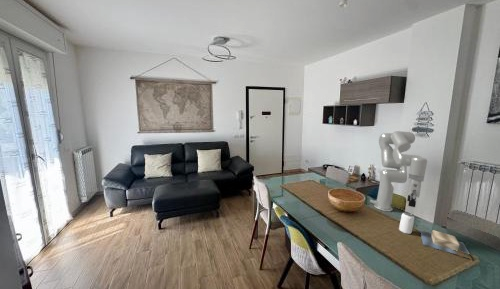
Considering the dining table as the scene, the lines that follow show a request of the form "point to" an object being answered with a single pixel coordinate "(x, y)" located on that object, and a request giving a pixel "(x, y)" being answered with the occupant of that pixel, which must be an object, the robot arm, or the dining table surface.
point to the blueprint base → (430, 243)
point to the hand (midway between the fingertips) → (410, 203)
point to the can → (406, 222)
